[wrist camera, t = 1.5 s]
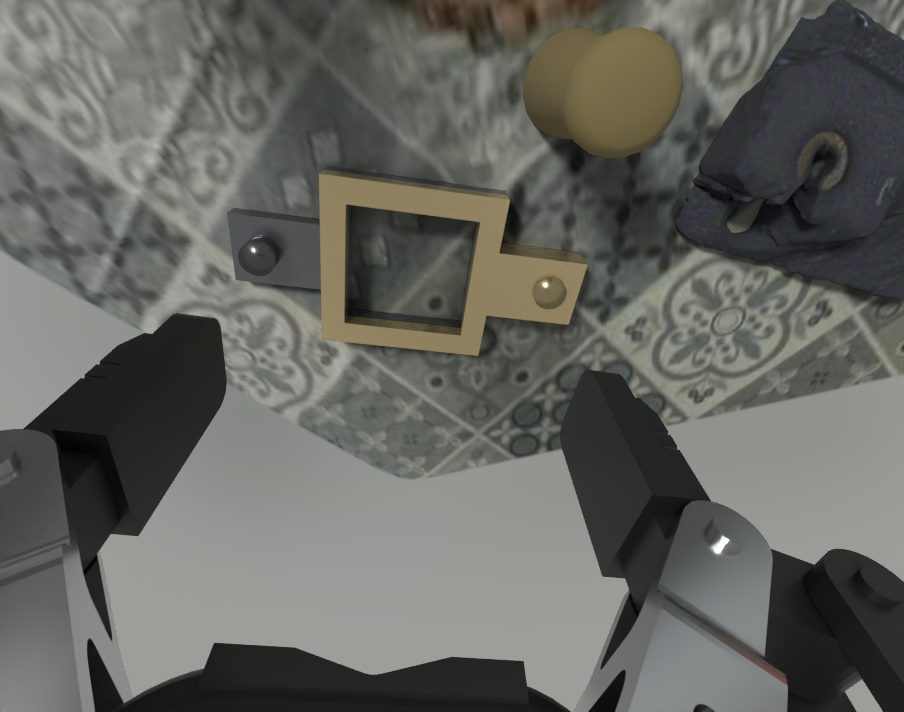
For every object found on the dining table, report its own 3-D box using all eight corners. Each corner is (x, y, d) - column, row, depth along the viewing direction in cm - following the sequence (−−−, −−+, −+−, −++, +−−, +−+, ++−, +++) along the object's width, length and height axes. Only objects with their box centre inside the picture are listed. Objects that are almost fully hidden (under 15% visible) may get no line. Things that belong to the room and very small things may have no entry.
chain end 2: (326, 166, 31) (317, 175, 29) (594, 203, 33) (606, 214, 30) (328, 324, 38) (320, 342, 35) (550, 348, 39) (557, 366, 37)
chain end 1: (227, 152, 30) (209, 160, 28) (505, 191, 32) (510, 201, 30) (246, 315, 37) (233, 333, 35) (476, 340, 39) (478, 358, 36)
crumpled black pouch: (864, 315, 39) (912, 344, 35) (652, 221, 34) (680, 243, 30) (1048, 132, 31) (1136, 143, 27) (809, -23, 26) (875, -38, 22)
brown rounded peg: (633, 36, 27) (732, 25, 18) (602, 144, 31) (672, 182, 21) (534, 19, 27) (586, -1, 18) (514, 132, 30) (547, 165, 21)
